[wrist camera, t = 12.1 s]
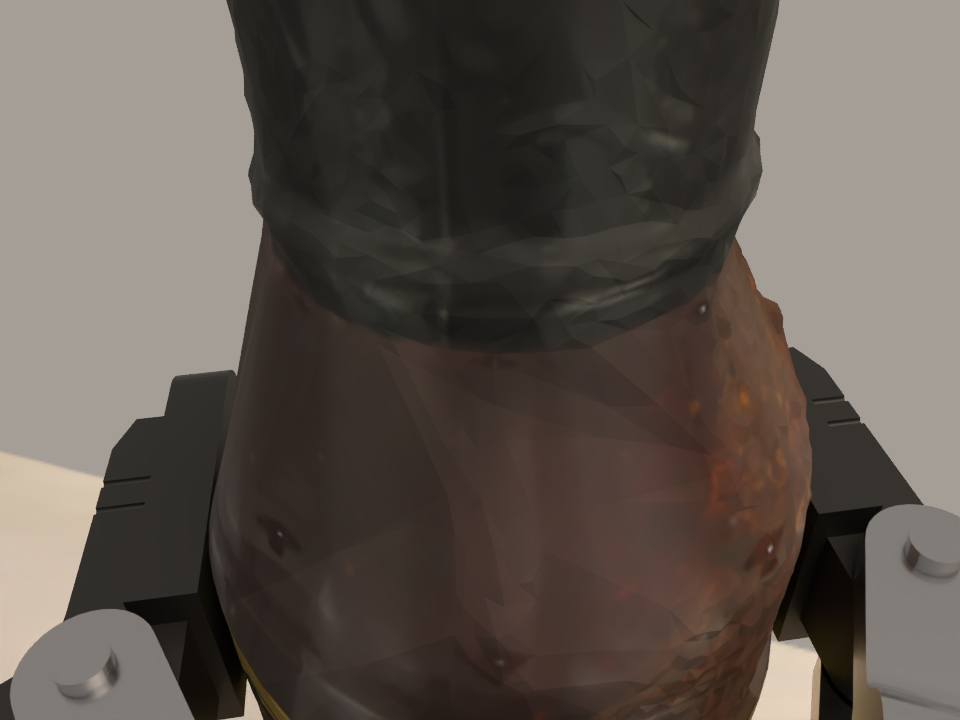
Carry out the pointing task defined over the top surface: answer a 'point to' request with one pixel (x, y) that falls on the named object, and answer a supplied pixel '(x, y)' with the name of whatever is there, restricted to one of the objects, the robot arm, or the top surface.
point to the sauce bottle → (507, 365)
